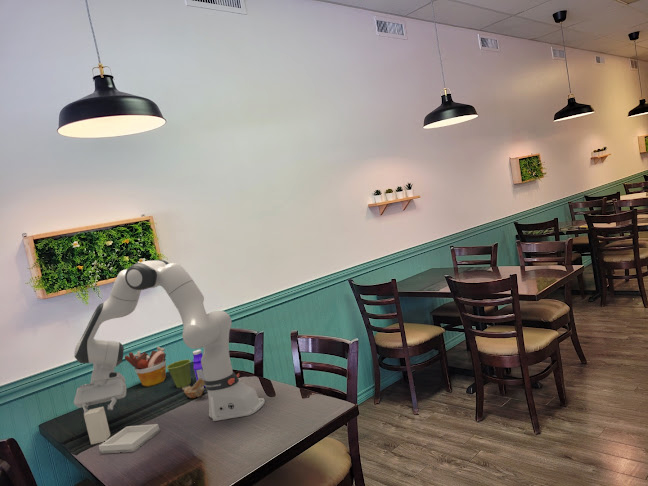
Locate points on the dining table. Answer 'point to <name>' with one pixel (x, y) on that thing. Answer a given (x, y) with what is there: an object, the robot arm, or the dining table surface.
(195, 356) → the bottle
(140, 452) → the dining table surface
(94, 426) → the white upright block
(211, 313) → the robot arm
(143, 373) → the bucket of meat
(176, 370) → the plant pot
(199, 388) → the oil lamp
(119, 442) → the tray
